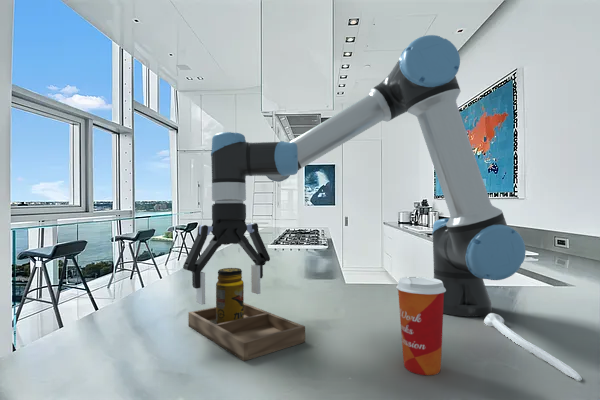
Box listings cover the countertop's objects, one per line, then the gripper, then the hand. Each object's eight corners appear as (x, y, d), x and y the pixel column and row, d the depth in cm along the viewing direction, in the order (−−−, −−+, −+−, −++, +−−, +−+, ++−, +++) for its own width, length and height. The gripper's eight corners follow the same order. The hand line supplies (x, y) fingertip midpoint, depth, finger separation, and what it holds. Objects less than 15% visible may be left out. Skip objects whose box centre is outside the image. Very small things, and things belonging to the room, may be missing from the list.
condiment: (250, 325, 77) (250, 270, 77) (212, 332, 72) (212, 274, 73) (237, 316, 83) (237, 265, 83) (201, 323, 78) (201, 269, 79)
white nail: (602, 385, 52) (601, 365, 52) (573, 385, 52) (573, 365, 52) (499, 324, 80) (499, 311, 80) (481, 323, 80) (480, 311, 80)
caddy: (305, 341, 68) (305, 326, 68) (243, 361, 60) (243, 343, 60) (241, 314, 87) (241, 302, 87) (188, 325, 79) (188, 312, 79)
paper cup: (390, 358, 60) (389, 276, 61) (433, 356, 61) (432, 275, 61) (408, 380, 52) (406, 286, 53) (457, 377, 53) (455, 284, 54)
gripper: (266, 203, 90) (267, 286, 89) (167, 202, 74) (167, 304, 73) (283, 202, 84) (284, 291, 83) (180, 201, 68) (180, 312, 67)
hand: (229, 298), depth 78 cm, fingers open, 13 cm apart
